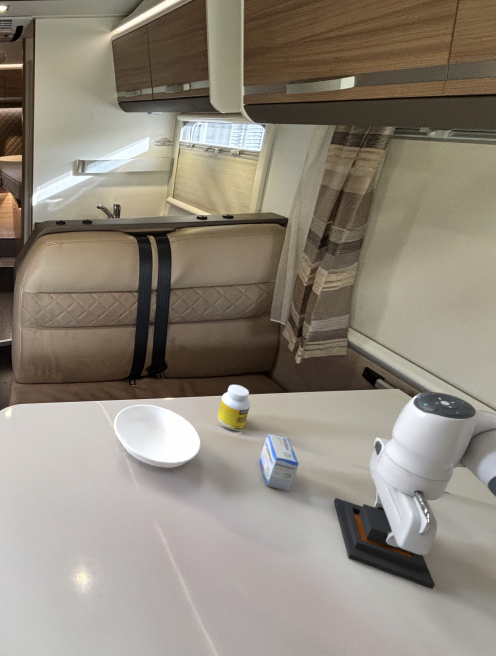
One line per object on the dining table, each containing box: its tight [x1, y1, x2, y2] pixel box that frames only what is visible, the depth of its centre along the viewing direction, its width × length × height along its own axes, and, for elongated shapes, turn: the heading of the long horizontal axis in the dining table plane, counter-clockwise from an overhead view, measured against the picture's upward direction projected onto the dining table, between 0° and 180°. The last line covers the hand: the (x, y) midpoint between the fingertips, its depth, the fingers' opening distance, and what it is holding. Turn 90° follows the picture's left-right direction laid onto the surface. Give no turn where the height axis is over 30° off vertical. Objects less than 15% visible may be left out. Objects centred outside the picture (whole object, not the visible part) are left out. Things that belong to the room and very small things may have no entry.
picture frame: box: [333, 497, 436, 590], centre depth 84 cm, size 12×14×3 cm
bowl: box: [113, 404, 201, 469], centre depth 105 cm, size 20×20×6 cm
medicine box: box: [258, 433, 299, 492], centre depth 97 cm, size 8×4×9 cm, turn 161°
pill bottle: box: [216, 384, 251, 434], centre depth 112 cm, size 6×6×12 cm
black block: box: [359, 503, 408, 553], centre depth 83 cm, size 6×6×3 cm
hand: (385, 526), depth 83 cm, fingers closed on black block, 6 cm apart
